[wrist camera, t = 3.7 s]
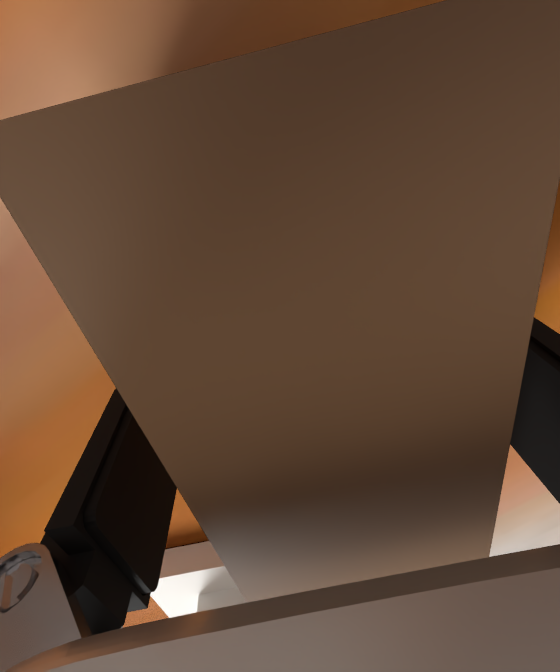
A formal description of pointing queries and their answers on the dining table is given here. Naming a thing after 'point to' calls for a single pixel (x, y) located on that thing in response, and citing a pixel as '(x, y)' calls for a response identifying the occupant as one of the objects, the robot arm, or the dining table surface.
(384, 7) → the dining table surface
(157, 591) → the fulcrum stand
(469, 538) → the wooden block
